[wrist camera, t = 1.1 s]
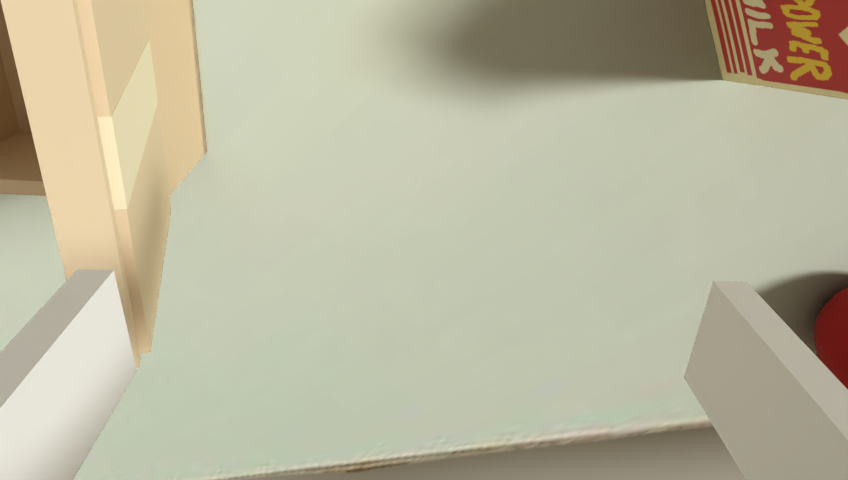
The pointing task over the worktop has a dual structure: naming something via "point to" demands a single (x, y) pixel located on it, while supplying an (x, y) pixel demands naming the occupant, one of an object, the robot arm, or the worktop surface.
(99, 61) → the lid
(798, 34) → the milk carton
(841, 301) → the apple
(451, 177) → the worktop surface
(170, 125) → the carton
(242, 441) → the worktop surface
